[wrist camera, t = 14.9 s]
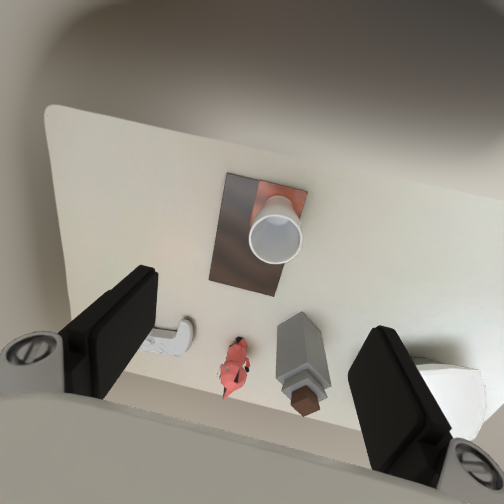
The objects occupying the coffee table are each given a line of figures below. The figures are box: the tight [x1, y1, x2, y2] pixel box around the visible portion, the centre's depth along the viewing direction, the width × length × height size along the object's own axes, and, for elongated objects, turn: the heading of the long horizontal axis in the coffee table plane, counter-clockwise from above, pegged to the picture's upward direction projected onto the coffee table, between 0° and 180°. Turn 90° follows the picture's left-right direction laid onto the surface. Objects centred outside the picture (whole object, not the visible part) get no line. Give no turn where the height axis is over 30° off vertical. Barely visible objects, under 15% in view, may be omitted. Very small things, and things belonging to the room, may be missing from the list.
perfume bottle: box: [276, 312, 331, 417], centre depth 48 cm, size 7×7×18 cm
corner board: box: [209, 173, 308, 297], centre depth 48 cm, size 22×14×1 cm, turn 168°
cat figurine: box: [217, 337, 250, 399], centre depth 54 cm, size 7×7×12 cm
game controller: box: [140, 319, 193, 356], centre depth 58 cm, size 14×4×10 cm
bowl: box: [412, 357, 487, 441], centre depth 54 cm, size 22×23×8 cm
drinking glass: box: [249, 195, 303, 264], centre depth 38 cm, size 7×7×15 cm
